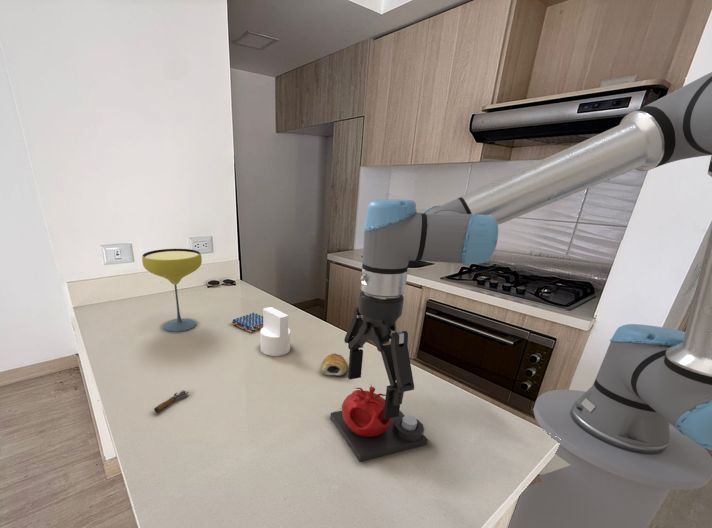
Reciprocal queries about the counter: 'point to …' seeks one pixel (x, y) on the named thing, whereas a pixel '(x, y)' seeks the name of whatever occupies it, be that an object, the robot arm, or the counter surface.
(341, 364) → the pastry
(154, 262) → the cocktail glass
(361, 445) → the scale
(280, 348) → the base with upright slab
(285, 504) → the counter surface
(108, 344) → the counter surface
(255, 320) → the woven mat
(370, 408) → the pomegranate
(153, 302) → the counter surface
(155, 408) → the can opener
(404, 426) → the button
